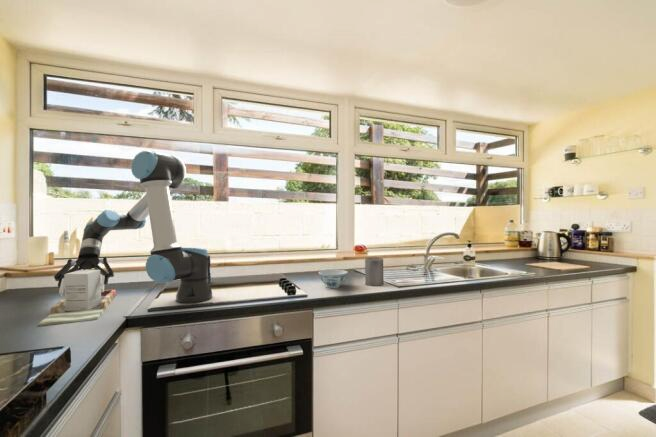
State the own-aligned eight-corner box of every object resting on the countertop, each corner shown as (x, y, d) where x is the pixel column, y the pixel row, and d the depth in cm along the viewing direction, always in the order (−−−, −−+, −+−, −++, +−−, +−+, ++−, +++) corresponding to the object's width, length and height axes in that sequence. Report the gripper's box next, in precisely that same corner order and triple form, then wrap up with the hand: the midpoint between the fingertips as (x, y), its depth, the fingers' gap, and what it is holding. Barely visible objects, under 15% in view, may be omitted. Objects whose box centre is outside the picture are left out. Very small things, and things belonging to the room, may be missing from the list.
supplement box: (79, 305, 138) (78, 269, 138) (101, 304, 139) (101, 269, 139) (64, 311, 129) (63, 273, 129) (88, 310, 130) (87, 273, 130)
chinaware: (352, 285, 171) (352, 271, 171) (338, 291, 159) (338, 275, 159) (328, 282, 179) (328, 268, 179) (312, 287, 167) (312, 272, 167)
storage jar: (199, 286, 171) (198, 258, 171) (187, 284, 176) (187, 256, 176) (214, 282, 180) (214, 255, 179) (203, 281, 185) (202, 254, 185)
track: (72, 298, 149) (72, 291, 149) (116, 294, 156) (116, 288, 156) (38, 326, 112) (38, 317, 112) (97, 319, 119) (97, 311, 119)
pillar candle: (370, 281, 181) (370, 254, 181) (386, 283, 175) (386, 255, 175) (361, 284, 173) (361, 256, 173) (378, 287, 168) (378, 258, 167)
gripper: (123, 254, 153) (119, 293, 140) (57, 258, 143) (45, 300, 129) (121, 244, 148) (116, 284, 135) (52, 247, 138) (39, 290, 124)
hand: (81, 292), depth 132 cm, fingers open, 13 cm apart
